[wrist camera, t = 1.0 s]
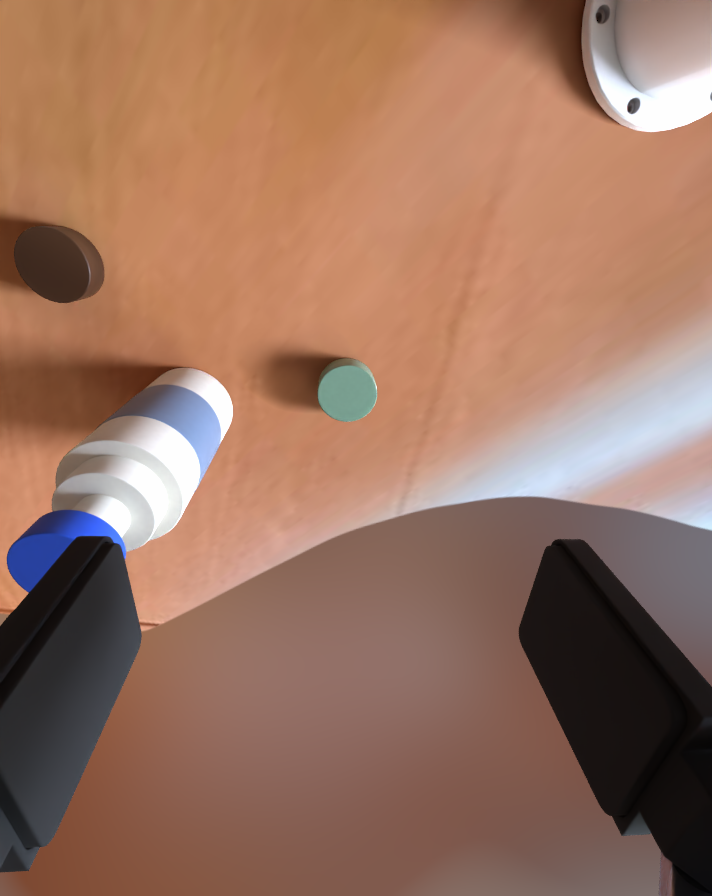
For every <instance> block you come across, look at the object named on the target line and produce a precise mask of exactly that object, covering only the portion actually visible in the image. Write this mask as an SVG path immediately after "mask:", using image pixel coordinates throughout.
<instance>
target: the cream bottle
mask: <svg viewBox="0 0 712 896" xmlns="http://www.w3.org/2000/svg"><path fill="white" fill-rule="evenodd" d="M232 416H233V407H232V402H231V399H230V396H229V394H228V392H227V391H226V389H225V388H224V387H223V386H222V384H221V383H220V382H219V381H218V380H216V379H215V378H214V377H212V376H211V375H209V374H207V373H205V372H203V371H200V370H197V369H193V368H176V369H172V370H169V371H167V372H165V373H163V374H162V375H161V376H159V377H158V378H157V379H156V380H155V381H153V382H152V383H151V384H150V385H149V386H147V387H146V388H145V389H144V390H142V391H141V392H139V393H138V394H137V395H135V396H134V397H133V398H132V399H131V400H129V401H128V402H127V403H126V404H125V405H123V406H122V407H121V408H120V409H118V410H117V411H116V412H115V413H114V414H112V415H111V416H110V417H109V418H108V419H106V420H105V421H104V422H103V423H102V424H100V425H99V426H98V427H97V428H96V429H95V430H94V431H93V432H92V433H91V434H90V435H88V436H87V437H86V438H85V439H84V440H82V441H81V442H80V443H79V444H78V445H76V446H75V447H74V448H73V449H72V450H70V451H69V452H68V453H67V454H66V455H65V456H64V457H63V459H62V460H61V462H60V464H59V466H58V468H57V473H56V490H55V492H54V494H53V498H52V510H53V512H50V513H47V514H45V515H43V516H42V517H40V518H39V519H38V520H37V521H36V522H35V523H34V524H33V525H32V526H31V527H30V528H29V529H28V530H27V531H26V532H25V533H24V534H23V535H22V536H21V537H20V538H19V539H18V540H17V541H16V542H15V543H13V544H12V546H11V547H10V549H9V551H8V554H7V566H8V569H9V572H10V574H11V575H12V577H13V578H14V580H15V581H16V582H17V583H18V584H19V585H20V586H21V587H22V588H23V589H24V590H26V591H27V592H30V591H31V590H32V589H33V588H34V586H35V585H36V584H37V583H38V582H39V581H40V579H41V578H42V577H43V576H44V575H45V573H46V572H47V571H48V570H49V569H50V567H51V566H52V565H53V564H54V563H55V561H56V560H57V559H58V558H59V557H60V555H61V554H62V553H63V552H64V551H65V550H66V548H67V547H68V546H69V545H70V544H71V542H72V541H73V540H74V539H75V538H76V537H79V536H109V537H111V538H112V539H113V542H114V543H118V544H120V545H121V547H122V551H123V555H124V559H125V557H126V552H127V551H131V550H134V549H136V548H139V547H140V546H142V545H144V544H145V543H146V542H147V541H149V540H152V539H156V538H158V537H160V536H162V535H164V534H166V533H167V532H169V531H170V530H171V529H172V528H173V527H174V526H175V525H176V524H177V523H178V521H179V519H180V518H181V516H182V514H183V512H184V510H185V508H186V506H187V504H188V503H189V501H190V499H191V497H192V495H193V493H194V492H195V491H196V489H197V487H198V485H199V484H200V482H201V480H202V478H203V476H204V474H205V472H206V470H207V468H208V467H209V465H210V463H211V461H212V459H213V457H214V455H215V453H216V452H217V450H218V447H219V445H220V443H221V441H222V439H223V437H224V435H225V433H226V431H227V430H228V428H229V426H230V423H231V421H232Z"/></svg>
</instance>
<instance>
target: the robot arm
mask: <svg viewBox="0 0 712 896" xmlns="http://www.w3.org/2000/svg"><path fill="white" fill-rule="evenodd" d="M596 16H597V17H598V22H597V21H596ZM581 43H582V54H583V65H584V68H585V72H586V76H587V80H588V84H589V86H590V88H591V90H592V92H593V94H594V96H595V98H596V100H597V102H598V103H599V105H600V106H601V107H602V108H603V110H604V111H605V112H606V113H607V114H608V115H609V116H610V117H611V118H613V119H614V120H615V121H617V122H618V123H619V124H621V125H623V126H626V127H628V128H631V129H634V130H637V131H647V132H656V131H663V130H670V129H673V128H676V127H679V126H683V125H686V124H689V123H691V122H693V121H695V120H697V119H699V118H701V117H704V116H705V115H707V114H709V113H710V112H712V0H586V3H585V8H584V13H583V23H582V40H581ZM627 106H628V111H627ZM519 639H520V642H521V645H522V647H523V649H524V651H525V653H526V655H527V657H528V659H529V661H530V664H531V665H532V667H533V669H534V672H535V674H536V676H537V678H538V680H539V682H540V684H541V686H542V688H543V690H544V692H545V694H546V696H547V698H548V700H549V702H550V704H551V706H552V709H553V710H554V713H555V715H556V717H557V719H558V721H559V723H560V725H561V727H562V729H563V731H564V733H565V735H566V737H567V739H568V741H569V744H570V745H571V748H572V750H573V752H574V754H575V756H576V758H577V760H578V762H579V764H580V766H581V768H582V770H583V772H584V774H585V776H586V778H587V780H588V783H589V784H590V787H591V789H592V791H593V793H594V795H595V797H596V799H597V801H598V803H599V805H600V806H601V808H602V809H603V810H604V812H605V813H606V814H608V815H609V816H612V817H613V819H614V821H615V823H616V825H617V827H618V829H619V831H620V833H621V835H622V836H627V835H644V834H650V833H652V835H653V837H654V839H655V841H656V843H657V845H658V846H659V848H660V850H661V862H660V881H659V896H712V687H711V685H710V684H709V683H708V682H707V681H706V680H705V678H704V677H703V676H702V675H701V674H700V673H699V672H698V670H697V669H696V668H695V667H694V666H693V665H692V664H691V662H690V661H689V660H688V659H687V658H686V657H685V655H684V654H683V653H682V652H681V651H680V650H679V649H678V647H677V646H676V645H675V644H674V643H673V642H672V641H671V639H670V638H669V637H668V636H667V635H666V634H665V632H664V631H663V630H662V629H661V628H660V627H659V625H658V624H657V623H656V622H655V621H654V620H653V619H652V617H651V616H650V615H649V614H648V613H647V612H646V611H645V609H644V608H643V607H642V606H641V605H640V604H639V602H638V601H637V600H636V599H635V598H634V597H633V596H632V595H631V593H630V592H629V591H628V590H627V589H626V588H625V586H624V585H623V584H622V583H621V582H620V581H619V580H618V578H617V577H616V576H615V575H614V574H613V572H612V571H611V570H610V569H609V568H608V567H607V566H606V565H605V563H604V562H603V561H602V560H601V559H600V558H599V556H598V555H597V554H596V553H595V552H594V551H593V549H592V548H591V547H590V546H589V545H588V544H587V543H586V542H585V541H583V540H580V539H558V540H555V541H553V543H552V545H551V546H547V547H546V549H545V551H544V554H543V557H542V560H541V563H540V566H539V569H538V572H537V575H536V578H535V581H534V584H533V587H532V590H531V593H530V596H529V599H528V602H527V605H526V608H525V611H524V614H523V618H522V621H521V624H520V627H519ZM140 643H141V629H140V624H139V620H138V616H137V611H136V607H135V603H134V598H133V594H132V590H131V585H130V581H129V577H128V572H127V568H126V564H125V559H124V555H123V551H122V547H121V545H120V544H118V543H114V542H113V539H112V538H111V537H109V536H79V537H76V538H75V539H74V540H73V541H72V542H71V544H70V545H69V546H68V547H67V548H66V550H65V551H64V552H63V553H62V554H61V555H60V557H59V558H58V559H57V560H56V561H55V563H54V564H53V565H52V566H51V567H50V569H49V570H48V571H47V572H46V573H45V575H44V576H43V577H42V578H41V579H40V581H39V582H38V583H37V584H36V585H35V586H34V588H33V589H32V590H31V591H30V592H29V594H28V595H27V596H26V597H25V598H24V600H23V601H22V602H21V603H20V604H19V606H18V607H17V608H16V609H15V610H14V611H13V612H12V613H11V614H10V615H9V616H8V618H7V619H6V620H5V621H4V622H3V624H2V625H1V626H0V872H15V871H29V869H30V867H31V865H32V863H33V860H34V858H35V856H36V854H37V852H38V850H39V848H40V847H44V846H46V845H47V844H48V843H49V842H50V841H51V840H52V838H53V837H54V835H55V833H56V831H57V829H58V827H59V825H60V822H61V820H62V818H63V816H64V814H65V812H66V809H67V807H68V805H69V803H70V801H71V798H72V796H73V794H74V792H75V790H76V787H77V785H78V783H79V781H80V778H81V776H82V774H83V772H84V770H85V768H86V765H87V763H88V761H89V759H90V756H91V754H92V752H93V750H94V748H95V745H96V743H97V741H98V739H99V737H100V734H101V732H102V730H103V728H104V726H105V723H106V721H107V719H108V717H109V714H110V712H111V710H112V708H113V706H114V703H115V701H116V699H117V697H118V695H119V692H120V690H121V688H122V686H123V684H124V681H125V679H126V677H127V675H128V673H129V671H130V668H131V666H132V664H133V662H134V659H135V657H136V655H137V653H138V650H139V647H140Z"/></svg>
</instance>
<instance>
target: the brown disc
mask: <svg viewBox="0 0 712 896" xmlns="http://www.w3.org/2000/svg"><path fill="white" fill-rule="evenodd" d="M14 258H15V263H16V267H17V269H18V271H19V273H20V275H21V277H22V278H23V280H24V281H25V282H26V284H27V285H28V286H29V287H30V288H31V289H32V290H33V291H35V292H36V293H37V294H39V295H40V296H42V297H44V298H46V299H48V300H51V301H54V302H58V303H69V302H74V301H78V300H81V299H85V298H88V297H91V296H93V295H94V294H95V293H97V292H98V290H99V289H100V288H101V286H102V284H103V280H104V265H103V262H102V259H101V256H100V254H99V253H98V251H97V249H96V248H95V246H94V245H93V244H92V243H91V242H90V241H89V240H88V239H87V238H86V237H85V236H83V235H82V234H80V233H79V232H77V231H75V230H73V229H70V228H66V227H59V226H36V227H32V228H29V229H27V230H25V231H24V232H23V233H22V234H21V235H20V236H19V237H18V239H17V241H16V244H15V248H14Z"/></svg>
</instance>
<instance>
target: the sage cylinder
mask: <svg viewBox="0 0 712 896" xmlns="http://www.w3.org/2000/svg"><path fill="white" fill-rule="evenodd" d="M317 395H318V401H319V404H320V406H321V408H322V409H323V410H324V412H325V413H326V414H327V415H329V416H330V417H332V418H334V419H336V420H339V421H345V422H349V421H355V420H358V419H361V418H363V417H364V416H366V415H367V414H368V413H369V412H370V411H371V410H372V408H373V407H374V405H375V402H376V399H377V387H376V384H375V380H374V377H373V374H372V372H371V371H370V369H369V368H368V367H367V366H366V365H365V364H363V363H362V362H360V361H358V360H355V359H351V358H343V359H338V360H335V361H333V362H332V363H330V364H329V365H328V366H326V367H325V369H324V370H323V371H322V373H321V375H320V378H319V382H318V394H317Z"/></svg>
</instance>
